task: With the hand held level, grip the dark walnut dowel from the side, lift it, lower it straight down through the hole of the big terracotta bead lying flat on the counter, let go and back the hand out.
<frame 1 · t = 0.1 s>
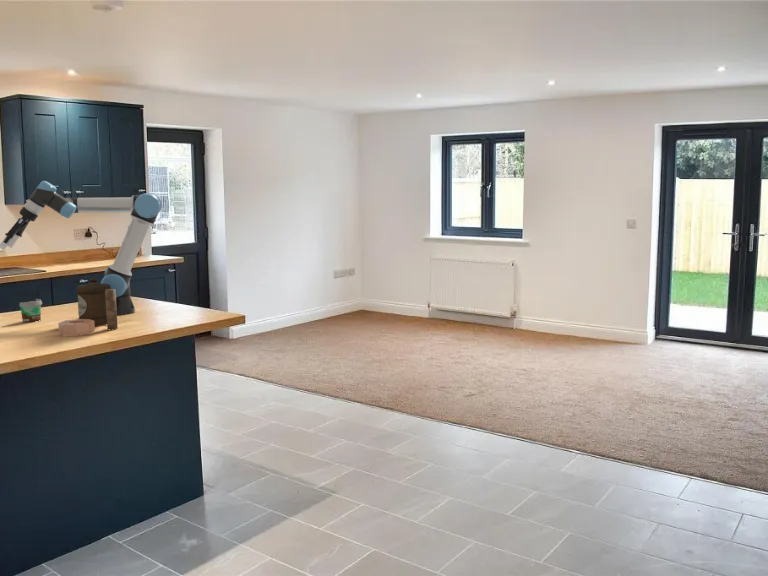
hand: (5, 247, 336), 36 cm above the table, tool tilted 35°, fingers open, 13 cm apart
walnut dowel: (112, 328, 324), on the table
food container: (35, 321, 344), on the table
terracotta bead: (77, 332, 315), on the table
wooden container: (96, 323, 337), on the table
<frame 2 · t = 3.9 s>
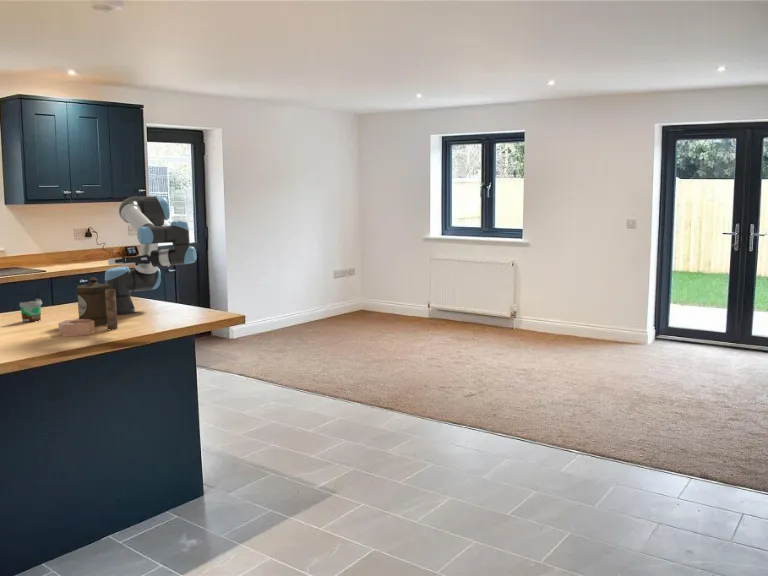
hand: (114, 262, 321), 30 cm above the table, tool horizontal, fingers open, 13 cm apart
nothing on the table moved.
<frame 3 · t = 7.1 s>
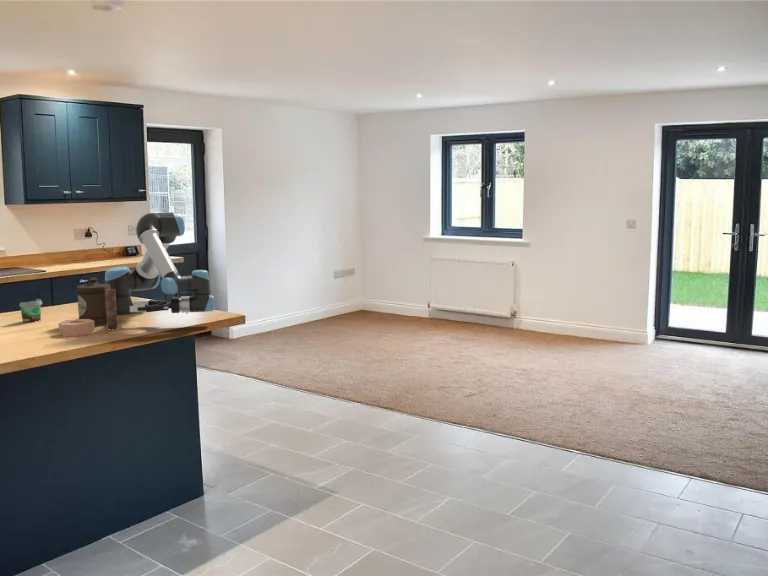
hand: (131, 306, 324), 10 cm above the table, tool horizontal, fingers open, 13 cm apart
nothing on the table moved.
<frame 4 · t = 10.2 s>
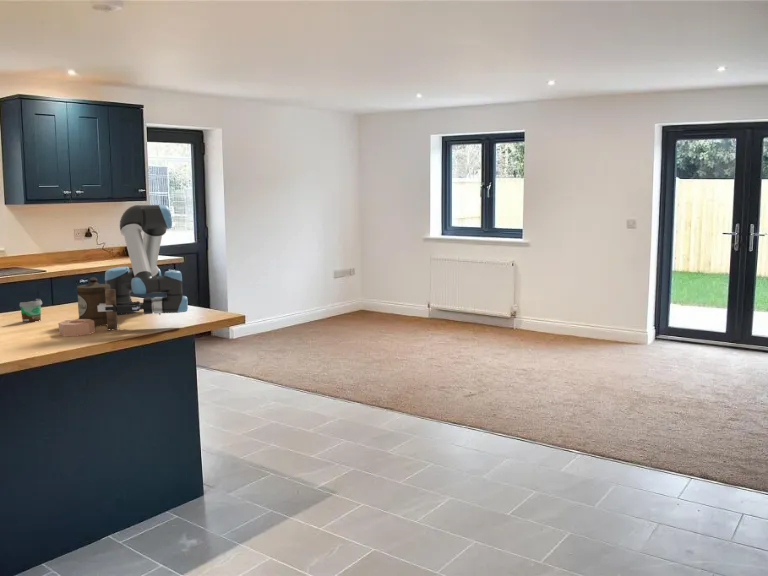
hand: (98, 307, 321), 10 cm above the table, tool horizontal, fingers closed on walnut dowel, 4 cm apart
walnut dowel: (112, 328, 324), on the table, touching gripper
everything else where it was.
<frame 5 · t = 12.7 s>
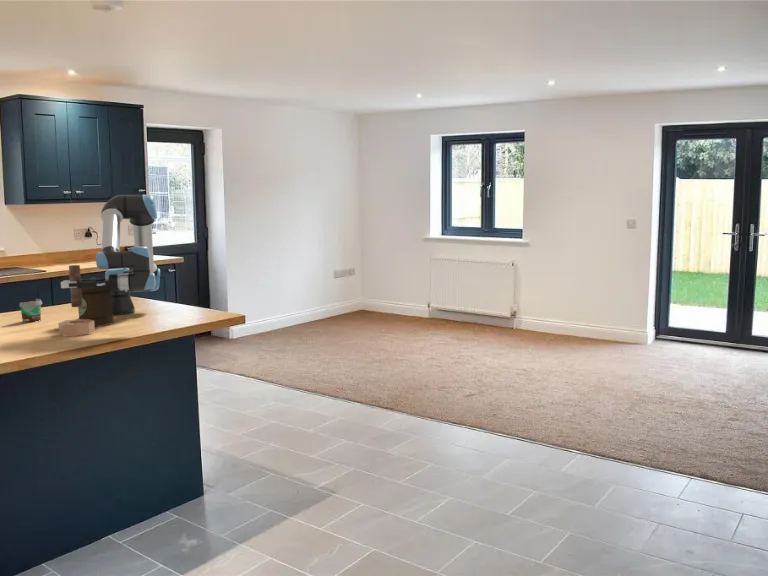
hand: (62, 284, 311), 22 cm above the table, tool horizontal, fingers closed on walnut dowel, 4 cm apart
walnut dowel: (77, 306, 313), point 12 cm above the table, touching gripper
everything else where it was.
when the fingers open (11 cm above the table, at t = 15.6 s): walnut dowel stays where it is, resting in terracotta bead.
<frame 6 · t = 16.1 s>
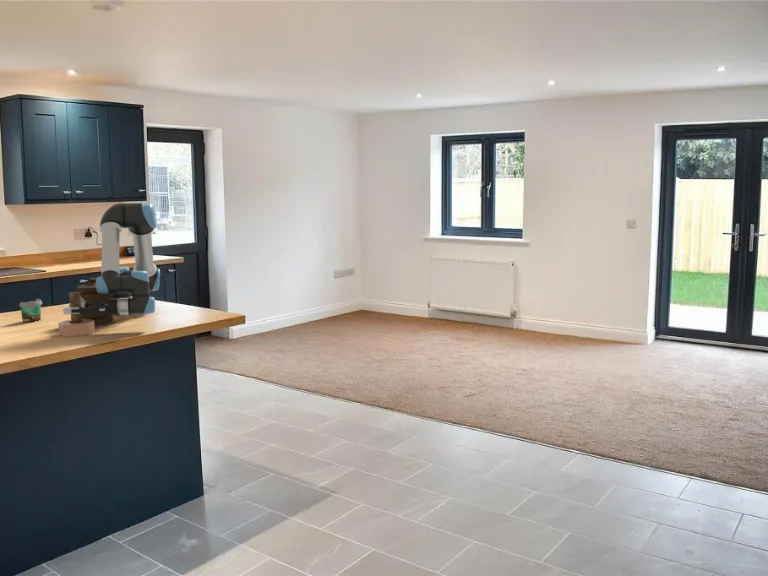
hand: (66, 308, 312), 11 cm above the table, tool horizontal, fingers open, 11 cm apart
walnut dowel: (77, 332, 315), resting in terracotta bead
everything else where it was.
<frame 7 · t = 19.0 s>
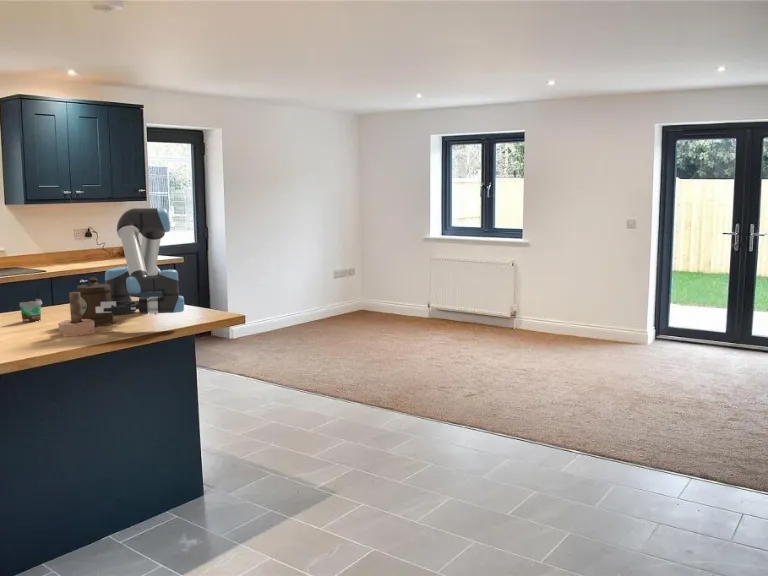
hand: (98, 307, 315), 11 cm above the table, tool horizontal, fingers open, 13 cm apart
nothing on the table moved.
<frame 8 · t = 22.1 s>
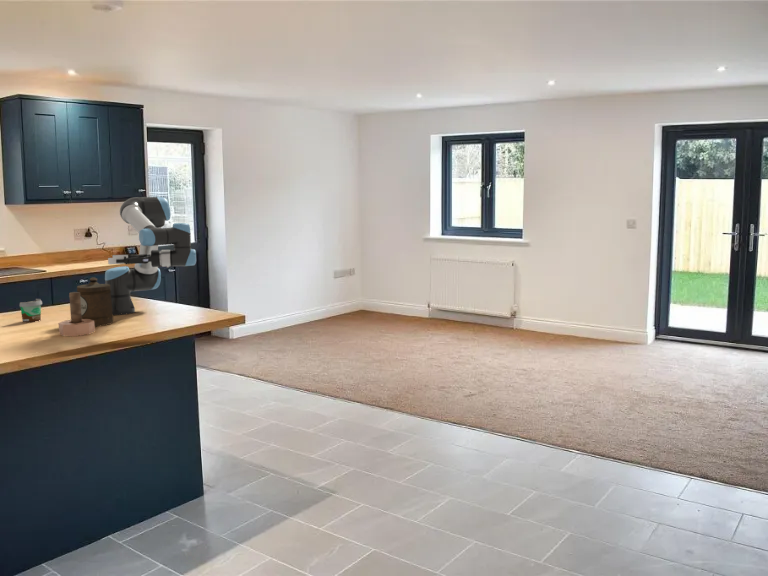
hand: (110, 259, 315), 32 cm above the table, tool horizontal, fingers open, 13 cm apart
nothing on the table moved.
at the end: walnut dowel 0.0 cm off-centre on the terracotta bead, point 0.0 cm above the terracotta bead's base; walnut dowel tilted 0°; the gripper is holding nothing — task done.
